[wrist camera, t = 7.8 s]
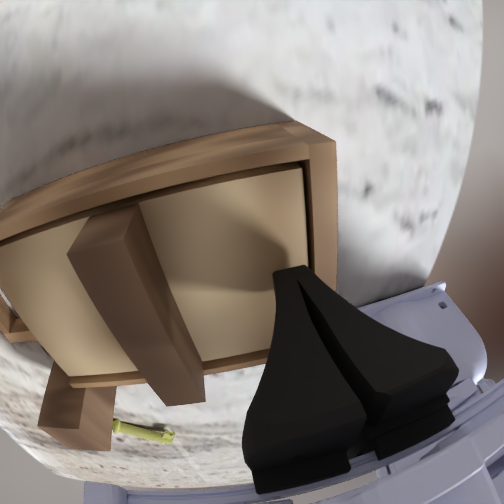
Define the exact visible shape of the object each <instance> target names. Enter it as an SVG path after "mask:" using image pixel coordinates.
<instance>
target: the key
mask: <svg viewBox="0 0 504 504" xmlns="http://www.w3.org/2000/svg"><path fill="white" fill-rule="evenodd" d="M112 429H113V432H114V433H115V434H117V433H118V432H123V433H126V434H129V435H133V436H137V437H140V438H144V439H148V440H152V441H157V442H161V443H165V444H170V445H171V444H172V440H173V437H174V436H175V432H172V433H170V432H169V431H166V430H165V431H164V433H160V432H156V431H152V430H148V429H144V428H140V427H137V426H133V425H130V424H126V423H123V422H121V421H120V420H119V419H116V420H113V423H112Z"/></svg>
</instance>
